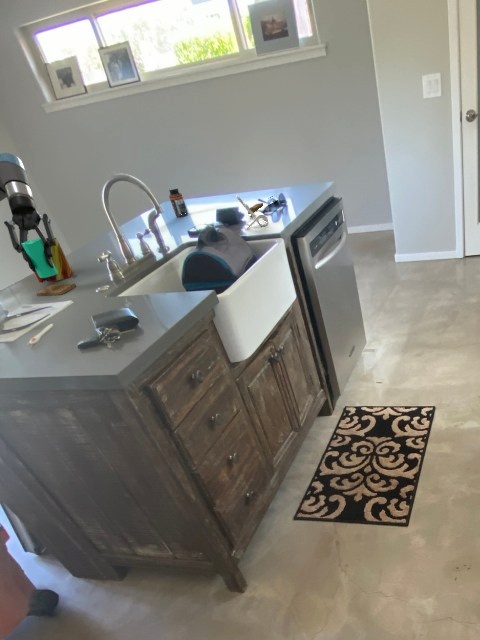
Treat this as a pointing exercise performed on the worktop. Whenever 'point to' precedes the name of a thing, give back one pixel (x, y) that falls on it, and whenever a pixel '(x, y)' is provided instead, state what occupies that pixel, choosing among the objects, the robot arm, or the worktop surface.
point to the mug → (58, 264)
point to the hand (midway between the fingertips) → (41, 267)
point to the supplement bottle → (178, 202)
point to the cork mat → (56, 289)
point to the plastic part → (254, 216)
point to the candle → (39, 258)
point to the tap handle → (256, 207)
